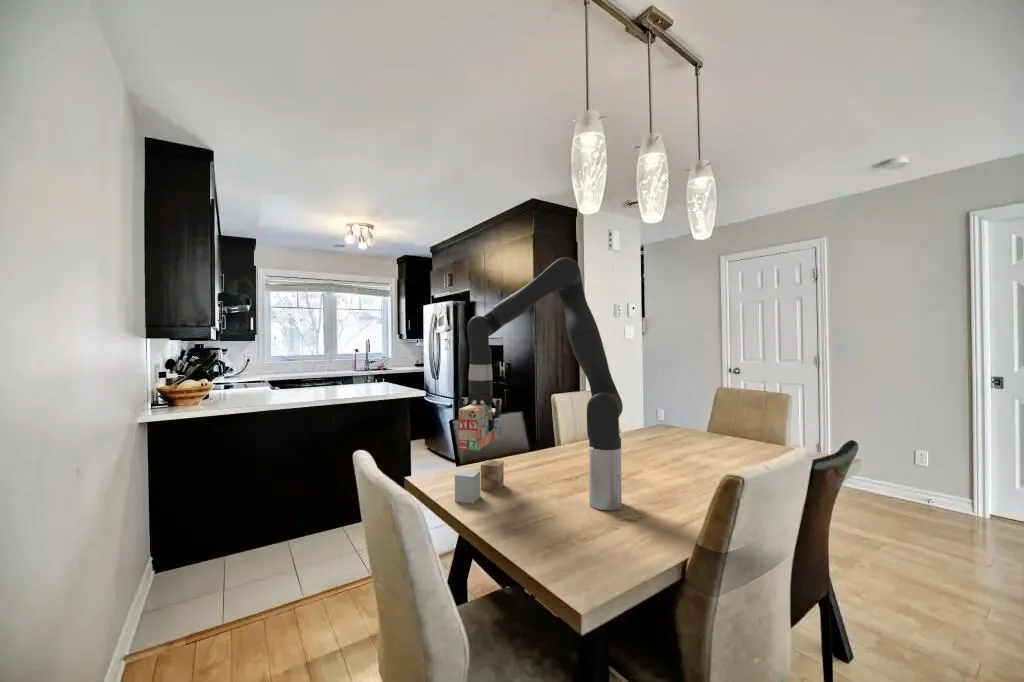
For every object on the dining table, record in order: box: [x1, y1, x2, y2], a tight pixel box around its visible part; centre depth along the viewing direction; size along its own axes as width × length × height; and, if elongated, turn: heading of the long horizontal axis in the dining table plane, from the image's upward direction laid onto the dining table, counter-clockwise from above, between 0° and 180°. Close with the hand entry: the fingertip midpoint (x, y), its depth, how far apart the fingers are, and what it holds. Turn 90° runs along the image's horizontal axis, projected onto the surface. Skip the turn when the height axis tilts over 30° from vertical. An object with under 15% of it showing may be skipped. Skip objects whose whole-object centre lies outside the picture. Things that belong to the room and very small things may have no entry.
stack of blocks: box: [458, 404, 502, 452], centre depth 134 cm, size 21×6×12 cm, turn 163°
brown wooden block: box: [480, 459, 505, 491], centre depth 139 cm, size 6×6×8 cm
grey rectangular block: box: [454, 469, 481, 504], centre depth 128 cm, size 6×6×8 cm
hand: (480, 430), depth 134 cm, fingers closed on stack of blocks, 6 cm apart
